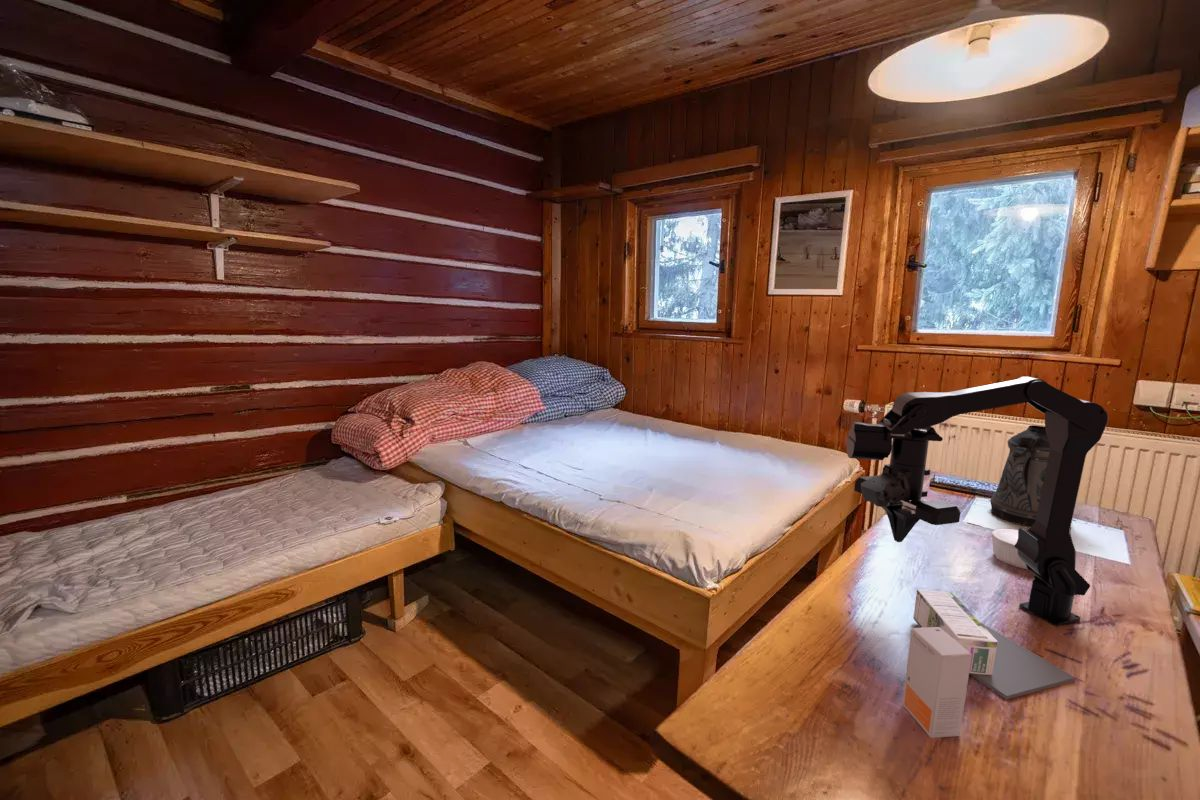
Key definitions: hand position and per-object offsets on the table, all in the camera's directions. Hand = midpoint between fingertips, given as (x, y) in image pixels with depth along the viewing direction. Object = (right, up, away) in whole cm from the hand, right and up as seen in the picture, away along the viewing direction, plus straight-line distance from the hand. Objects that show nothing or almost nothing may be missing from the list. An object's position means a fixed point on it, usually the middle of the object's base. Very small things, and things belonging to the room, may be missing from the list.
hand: (898, 541), depth 101 cm
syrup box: (+2, -9, -7) cm, 12 cm away
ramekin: (+37, -9, +18) cm, 42 cm away
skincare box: (-12, -17, -29) cm, 36 cm away
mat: (+5, -14, -16) cm, 22 cm away
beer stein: (+58, -5, +41) cm, 71 cm away
